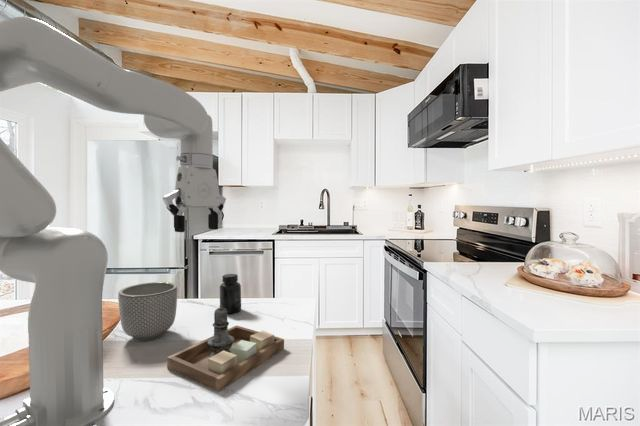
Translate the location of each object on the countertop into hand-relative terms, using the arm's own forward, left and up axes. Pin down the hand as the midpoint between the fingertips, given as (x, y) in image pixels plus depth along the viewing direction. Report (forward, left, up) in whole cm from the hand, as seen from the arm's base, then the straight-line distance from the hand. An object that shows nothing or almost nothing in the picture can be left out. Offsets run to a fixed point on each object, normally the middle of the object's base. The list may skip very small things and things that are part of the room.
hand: (197, 230), depth 79 cm
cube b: (-2, -18, -28) cm, 34 cm away
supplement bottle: (+21, +10, -29) cm, 37 cm away
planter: (-4, +14, -29) cm, 33 cm away
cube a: (-8, -18, -28) cm, 35 cm away
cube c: (+4, -18, -28) cm, 34 cm away
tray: (-2, -14, -29) cm, 32 cm away
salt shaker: (-2, -11, -28) cm, 31 cm away
